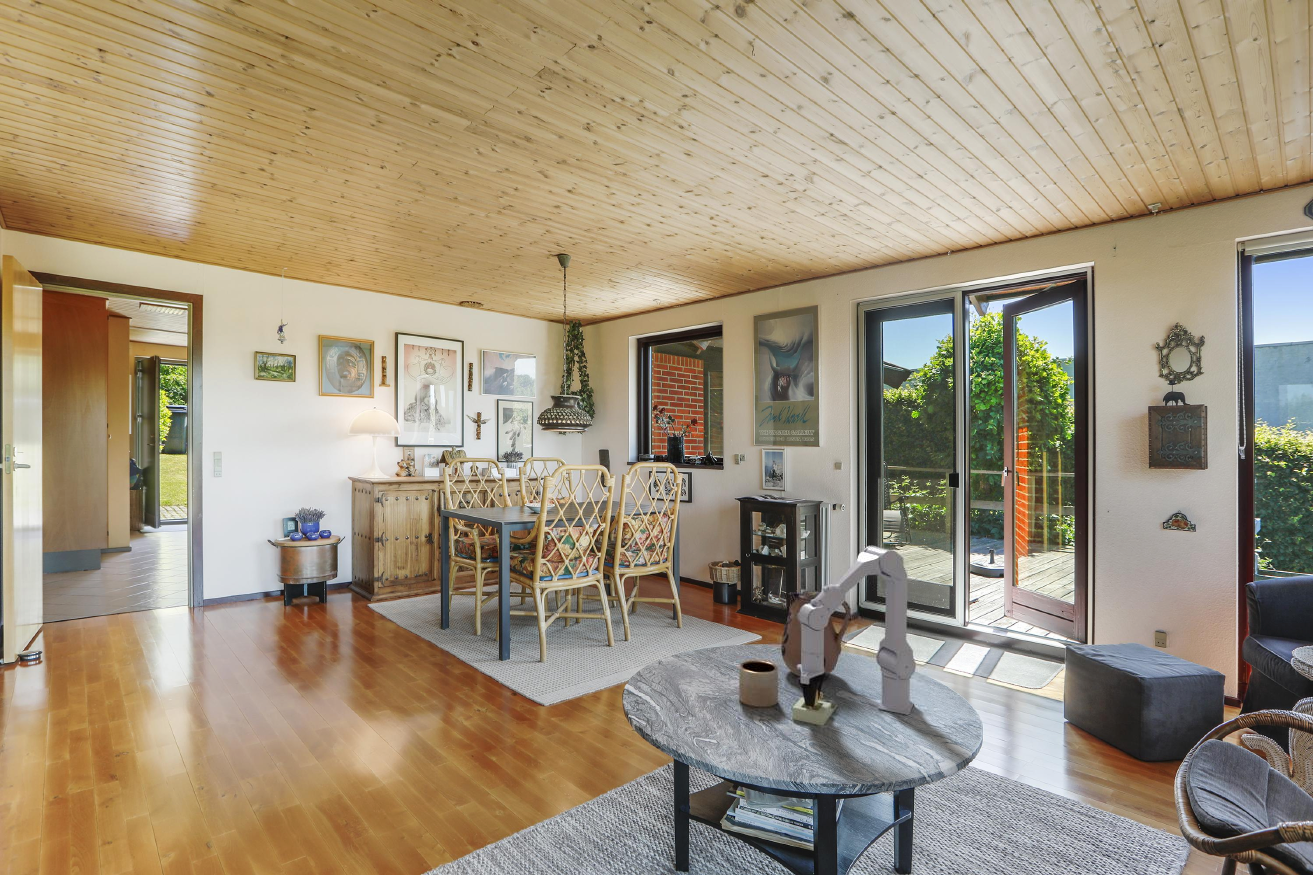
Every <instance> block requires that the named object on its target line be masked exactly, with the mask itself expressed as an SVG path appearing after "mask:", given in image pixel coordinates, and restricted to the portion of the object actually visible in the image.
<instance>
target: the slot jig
mask: <svg viewBox="0 0 1313 875" xmlns="http://www.w3.org/2000/svg"><path fill="white" fill-rule="evenodd" d="M837 706H838V704H837V702H836V701H835V700H834V699H833V700H832V699H825V698H824V693H823V692H821V693H820V697H819V700H818V711H816V710H811V709H807V706H806V705H805V701H804V696H803V697H800V698H799V700H798V701H797V702H796V703H795V704H794V705H793V707H792V720H795V721H800V722H804V723H805V722H806V723H810V724H813V725H818V726H822V727H823V726H824V725H825V724H826V722H827V721H829V718H830V717H831V716H832V714H833V713H834V711H835V710H836V709H837Z"/></svg>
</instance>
